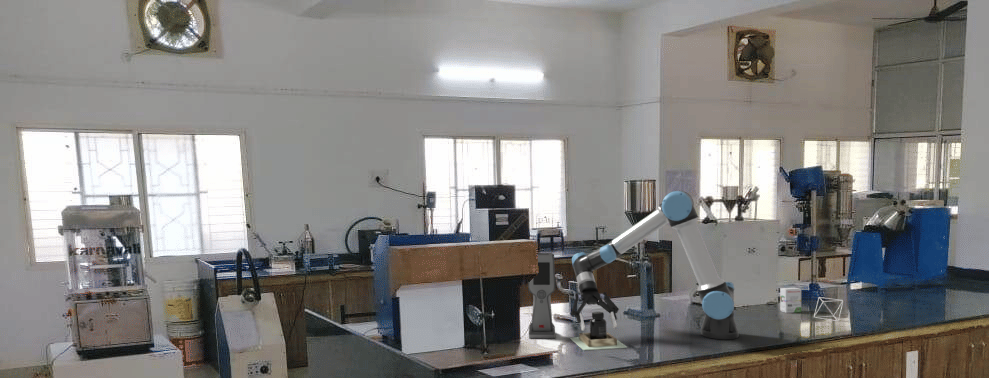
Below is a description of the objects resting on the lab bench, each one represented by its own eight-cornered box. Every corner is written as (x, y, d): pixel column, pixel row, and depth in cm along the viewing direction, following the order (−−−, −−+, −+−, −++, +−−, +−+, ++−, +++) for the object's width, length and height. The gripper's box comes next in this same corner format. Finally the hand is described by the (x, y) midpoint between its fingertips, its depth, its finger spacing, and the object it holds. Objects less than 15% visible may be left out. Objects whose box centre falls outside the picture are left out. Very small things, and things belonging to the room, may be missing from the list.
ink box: (795, 310, 300) (795, 286, 299) (801, 312, 295) (801, 288, 295) (779, 311, 298) (779, 287, 298) (786, 313, 293) (786, 289, 293)
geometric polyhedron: (815, 320, 279) (815, 300, 279) (811, 314, 289) (811, 296, 289) (845, 322, 275) (846, 302, 275) (840, 316, 285) (840, 297, 285)
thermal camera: (555, 331, 263) (554, 252, 263) (556, 339, 250) (555, 256, 250) (529, 331, 264) (528, 252, 264) (528, 338, 251) (527, 256, 251)
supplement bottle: (606, 340, 246) (606, 311, 246) (606, 344, 240) (606, 314, 239) (590, 339, 248) (589, 310, 247) (589, 343, 241) (589, 314, 241)
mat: (610, 336, 254) (610, 335, 254) (627, 347, 236) (627, 346, 236) (570, 338, 251) (570, 337, 251) (583, 350, 233) (583, 349, 233)
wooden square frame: (606, 337, 250) (606, 331, 250) (617, 345, 239) (616, 338, 239) (579, 339, 248) (579, 333, 248) (588, 346, 237) (588, 340, 237)
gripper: (612, 288, 261) (626, 331, 246) (557, 291, 256) (568, 334, 242) (616, 278, 255) (631, 321, 241) (560, 281, 251) (571, 324, 236)
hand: (599, 328), depth 241 cm, fingers open, 13 cm apart
